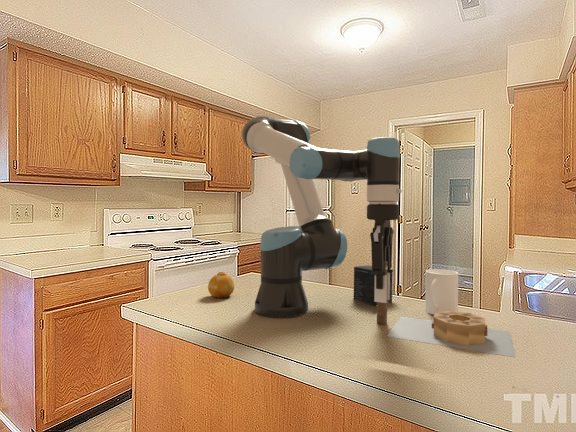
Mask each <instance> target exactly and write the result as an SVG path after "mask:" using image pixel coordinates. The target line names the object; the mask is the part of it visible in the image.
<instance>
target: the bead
mask: <svg viewBox="0 0 576 432" xmlns="http://www.w3.org/2000/svg"><path fill="white" fill-rule="evenodd" d="M432 321H433V322H432V328H433V329H434V336H436V337H438V338H440V339H442V340H444V341H446V342H451V343H458V344H464V345H474V344H481V343H485V336H487V328H488V325H486V318H485V317H482V316H479V315H477V314H474V313H472V312H465V311H464V312H463V311H459V310H458V311H443V312H436V313H435V315H433V320H432Z"/></svg>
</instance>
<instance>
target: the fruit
mask: <svg viewBox="0 0 576 432" xmlns="http://www.w3.org/2000/svg"><path fill="white" fill-rule="evenodd" d="M207 290H208V292H209V294H210V296H212V297H214V298H216V297H217V298H218V299H223V297H224V298H228V297H230V296H231V295H232V294H233V293H234V290H235V283H234V280H233V279H232V277H231V276H230V275H228V274H227V273H226V272H224V271H220V272H217V274H216V275H213V276H212V277H211V278H210V280H209V281H208V285H207Z"/></svg>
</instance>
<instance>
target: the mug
mask: <svg viewBox="0 0 576 432" xmlns="http://www.w3.org/2000/svg"><path fill="white" fill-rule="evenodd" d="M424 297H425V300H424V301H425V304H424V305H425V307H424V311H425V312H426V313H428V314H429V315H433V316H434V315H435V313H436V312H443V311H458V312H459V272H458V271H456V270H451V269H442V268H429V269H426V270H425V296H424Z"/></svg>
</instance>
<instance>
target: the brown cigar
mask: <svg viewBox="0 0 576 432" xmlns="http://www.w3.org/2000/svg"><path fill="white" fill-rule="evenodd" d="M387 269H388V266H387V261H386V274H385V275H387ZM376 324H377V325H380V326H381V325H383V326H384V325H387V324H388V303H387V300H386V303H381V302H377V306H376Z"/></svg>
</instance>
